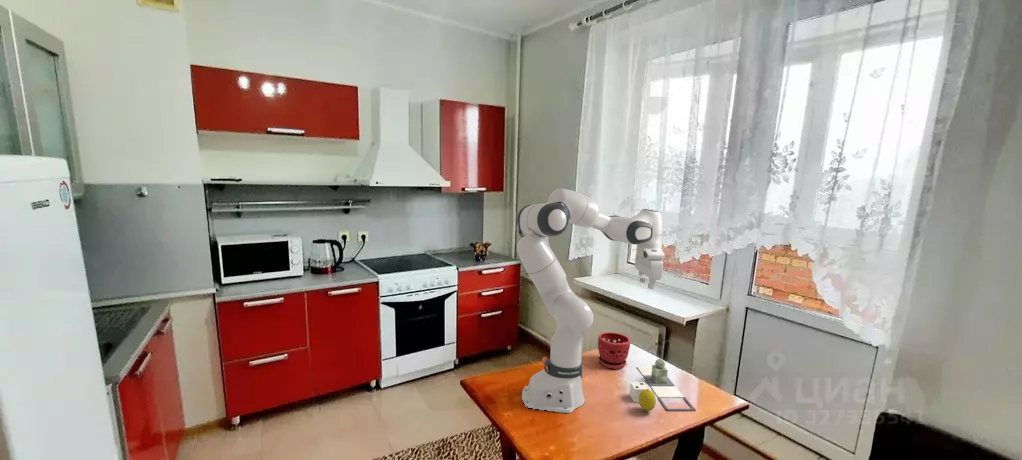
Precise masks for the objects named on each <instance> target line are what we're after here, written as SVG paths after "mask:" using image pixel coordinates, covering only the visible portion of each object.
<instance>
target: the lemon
mask: <svg viewBox="0 0 1022 460" xmlns="http://www.w3.org/2000/svg"><path fill="white" fill-rule="evenodd" d="M656 403H657V399H656V394H655V392H654V391H653V390H651V389H649V388H648V389H645V390H643V391H641V393H640V395H639V402H638V404H639V406H640V408H641V409H642V410H644V411H645V412H649V411H653V409H654V408H655V407H656Z"/></svg>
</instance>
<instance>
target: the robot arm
mask: <svg viewBox="0 0 1022 460" xmlns="http://www.w3.org/2000/svg"><path fill="white" fill-rule="evenodd" d="M569 224H571V225H574V226H577V227H583V228H593V229H596V230H598V231H600V232H601V233H602V234H603V235H604V236H605V237H606V238H607V239H608V240H610V241H613V242H619V243H620V242H621V243H625V244H627V245H628V244H629V245H636V253H635V258H634V268H635V270H637V271H638V276H639V277H638V278H639V282H640V283H642V284H643V283H645V282H646V277H647V278H648V281H649V282H648V284H647V288H648V289H649V290H654V289H655V284H656V282H657V281H660V280H661V279H662V277H663V271H664V260H665V258H666V256H665V255H666V254H665V253H664V251H663V250H662V248H661V247H662V241H661V236H662V233H663V232H662V229H663V218H662V214H661V213H660V211H658V210H654V209H649V208H648V209H647V208H645V209H644V208H643V209H641V210H640V211H639V212H638V213H637V214H636V215H634V216H633V217H632V216H631V217H624V216H620V215H609V216H608V215H606V214H603V213H601V209H600V205H599V203H598V202H597V201H596V200H595V199H594V198H592V197H590V196H587V195H586V194H583V193H582V192H578V191H575V190H571V189H567V188H563V187H562V188H557V189H555V190H554V191H552V193H551V194H550V195H549V196H548V200H547V202H546V203H543V202H542V203H535V204H527V205H526V206H524V207H522V208H521V209H520V210H519V211H518V213H517V217H516V225H517V227H518V234H519V236H520V239H519V240H518V242H517V245H516V251H517V255H518V257H519V259H520V261H521V264H522V266H523V268H524V269H525V271H526V273H527V275H528V276H529V279H530V280H531V281H532V283H533V284H534V286H535V288H536V289H537V292H538V294H539V296H540V299H541V300H542V302H543V305H544V306H545V308H546V310H547V312H548V314H550V316H552V318H554V319H555V322H556V328H555V332H554V335H553V336H551V339H550V352H549V353H550V356H549V357H550V358H549V359H548V357H547V356H543V357H542V359H541V361H542V364H543V369H542V370H539V371H538V372H537V373H534V374H533V375H532V376H531V377H530V379H529V382H528V385H526V386H524V388H523V389H522V391H521V401H522V400H523V401H522V403H523V402H524V404H525V405H524V404H523V405H524V406H525V407H526V406H527V407H528V408H533V409H532V410H535V409H539V410H538V411H544V410H547V411H546V412H553V411H554V412H555V413H564V414H572V412H573V411H574V410H576V409H577V408H579V407H581V406H583V405H584V403H585V396H584V392H583V391H584V390H583V382H582V378H583V373H584V371H583V370H584V365H583V361H582V357H583V356H582V355H583V354H582V353H583V342H584V337H585V334H586V332H587V331H588V330H590V328H591V327H592V325H593V323H594V317H595V316H594V313H593V310H592V309H591V307H590V305H589V304H588V303H587V302H586V301H585V300H583V299H582V298H580V297H579V296H578V295H576V293H574V292H573V290H572V289H571V288H570V285H569V283H568V279H567V275H566V274H567V273H565V270H564V269H563V267H562V265H561V263H560V262H559V260H558V258H557V256H556V254H555V253H554V252H553V250H552V248H551V246H550V242H549V237H557V236H560V235H561V234H563V233H564V232H565V231H566V229H567V227H568V225H569ZM645 276H646V277H645ZM525 390H527V391H525ZM527 407H526V408H527ZM528 408H527V409H528Z"/></svg>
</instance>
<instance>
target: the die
mask: <svg viewBox="0 0 1022 460" xmlns="http://www.w3.org/2000/svg"><path fill="white" fill-rule="evenodd" d="M629 386H630V387H629V396H630V397H631V400H632V402H633V403H639V395H640V393H641V391H643V390H645V389H649V387H648V385H646V383H645V382H644V381H642V382H641V381H630V385H629Z"/></svg>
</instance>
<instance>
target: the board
mask: <svg viewBox="0 0 1022 460" xmlns="http://www.w3.org/2000/svg"><path fill="white" fill-rule="evenodd" d="M636 368H637V370H638V371H639V373H641V376H642V377H643V378H644V380H645V381H646V383H647V384H648V385H649V387H650V388H651V389H652V390H651V391H652V392H653V393H654V395H655V396H656V397H657V400H658V401H659V403H661V405H662V406H663V408H664V409H665V411H666V412H695V411H696V408H695V407H694V406H693V405H692V403H691V402H690V401H689V400H688V398H687V397H686V396H684V395H683V393H682V392H681V391H680V390H679V389H678V388H677V386H675V384H674V383H673V382H672V381H671V379H670V378H669V377H668V376H667V384H655V382H654V381H653V380H652V378H651V375H652V366H637V367H636ZM670 398H671V399H683V400H685V403H687V405H688V406H689V407H690V408H668V407H667V405H666V404H665V403H664V401H663V400H662V399H670Z"/></svg>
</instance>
